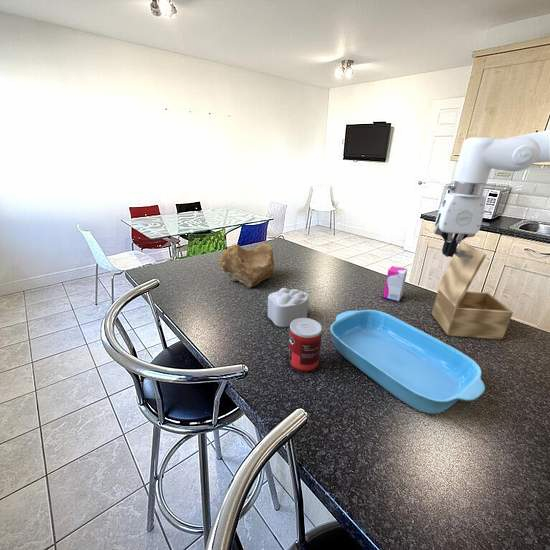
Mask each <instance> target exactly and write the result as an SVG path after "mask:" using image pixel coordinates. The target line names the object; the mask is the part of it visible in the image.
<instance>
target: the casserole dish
mask: <svg viewBox="0 0 550 550" xmlns="http://www.w3.org/2000/svg"><path fill="white" fill-rule="evenodd" d="M329 330H330V334H331V337H332V342H333V345H334V347H335V349H336V351H338V353H339V354H340V355H341V356H342V357H343V358H344V359H346V360H347V361H348V362H349V363H351V364H352V365H353V366H355V367H356V368H357V369H359V370H360V371H361V372H363V373H364V374H365V375H366V376H368V377H369V378H370V379H371V380H373V381H374V382H375V383H377V384H378V385H379V386H380V387H382V388H383V389H384V390H386V391H387V392H389V393H390V394H391V395H393V396H394V397H396V398H397V399H398V400H400V401H401V402H403V403H404V404H406V405H407V406H409V407H411V408H413V409H415V410H417V411H419V412H422V413H426V414H440V413H442V412H445V411H447V410H448V409H450V408H451V407H452V406H453V405H455V404H456V403H457V402H458V401H465V402H473V401H475V400H477V399H478V398H480V397H481V396H482V395H483V394H484V392H485V390H486V386H485V383H484V382H483V380H482V379H481V378H482V374H483V371H482V368H481V367H480V365H479V364H478V363H477V362H476V361H475V360H474V359H472V358H471V357H470V356H468V355H467V354H465V353H463V352H462V351H460V350H459V349H456V348H455V347H454V346H451V345H449V344H448V343H445V342H444V341H442V340H440V339H438V338H436V337H434V336H432V335H430V334H428V333H426V332H424V331H423V330H421V329H419V328H418V327H417V328H416V327H415V326H413V325H411V324H409V323H407V322H405V321H403V320H402V319H400V318H397V317H395V316H393V315H391V314H389V313H386V312H384V311H380V310H376V309H361V310H346V311H344V312H341V313H339V314H338V315H336V317H335V321H333V323H331V325H330V329H329Z"/></svg>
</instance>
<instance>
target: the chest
mask: <svg viewBox="0 0 550 550" xmlns="http://www.w3.org/2000/svg"><path fill="white" fill-rule="evenodd" d="M436 292H437V293H436V296H435V300H434V303H433V307H432V310H431V315H432V316H433V319H435V320H436V322H437V323H438V325H439V326H440V328H441V329H442V330H443V331H444V333H445V334H446V336H449V337H450V336H451V337H452V336H453V337H465V338H478V339H488V340H489V339H491V340H503V339H504V337H505V334H506V331H507V329H508V327H509V324H510V322H511V319H512V316H513V314H514V312H513V311H512V310H511V309H510V308H508V307H507V306H506V305H505V304H503V303H502V302H500V300H498V298H496V297H495V296H493V295H492V294H490V293H489V292H482V291H468V290H467V291H466V293H465V295H464V297H463V299H462V300H461V302H460V304H459V306H458V307H455V306H454V305H453V304H452V303H451V302H450V301H449V300H448V299H447V298H446V297H445V296H444V294H443V293H442V292H441V291H440V290H439V289H437V291H436Z"/></svg>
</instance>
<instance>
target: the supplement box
mask: <svg viewBox="0 0 550 550" xmlns="http://www.w3.org/2000/svg"><path fill="white" fill-rule="evenodd" d="M407 274H408V268H405V267H399V266H394V265H391V266H390V267H389V269H387V275H386V280H385V285H384V290H383V297H382V298H383V299H385V300H388V301H392V302H397V303H399V302H400V300H401V299H402V298H403V294H404V293H403V292H404V288H405V283H406V278H407Z"/></svg>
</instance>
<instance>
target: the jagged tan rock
mask: <svg viewBox="0 0 550 550" xmlns="http://www.w3.org/2000/svg"><path fill="white" fill-rule="evenodd" d="M274 261H275V260H274V249H273V246H272V245H271V244H270V243H267V242H262V243H260V244H259V245H257V247H254V248H242V247H241V245H239V244H232V245H231V246H229V248H227V249H226V250H224V252H223V253H222V254H221V255H220V260H219V268H220V270H221V271H223V272H225V273H226V274H227V275H228V277H229V279H230V280H231V281H233V282H239V283H241V284H242V285H244V286H246V287H247V288H249V289H251V288H253V287H255V286H258V285H259V284H260V283H261V282H263V281H264V280H268V279H270V278H271V277H272V276H273V273H274V270H275V262H274Z"/></svg>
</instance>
